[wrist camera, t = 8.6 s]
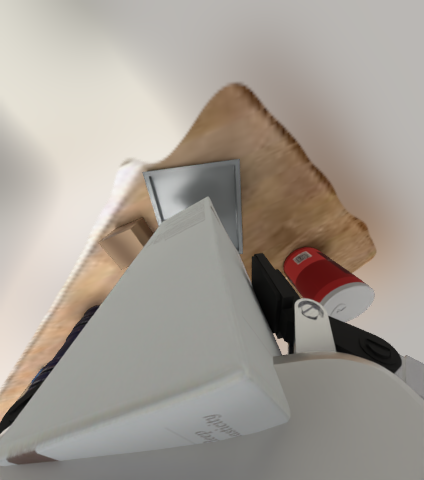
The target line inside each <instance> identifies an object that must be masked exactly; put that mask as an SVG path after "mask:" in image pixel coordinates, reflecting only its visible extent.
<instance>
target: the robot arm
mask: <svg viewBox="0 0 424 480" xmlns="http://www.w3.org/2000/svg"><path fill="white" fill-rule="evenodd" d="M252 288H253V290H254V292H255V295H256V297H257V299H258V301H259V304H260V306H261V308H262V311H263V313H264V315H265V317H266V320H267V322H268V324H269V326H270V329H271V331H272V333H275V334H276V336H277V338H278V339H280V338H283V339H284V341H286V342H287V343H288V355H281V356H274V357H273V365H274V368H275V370H276V373H277V376H278V378H279V381H280V384H281V386H282V389H283V392H284V394H285V397H286V400H287V402H288V405H289V408H290V419H289V421H288V422H286V423H284V424H281V425H278V426H275V427H272V428H269V429H266V430H263V431H260V432H257V433H252V434H247V435H243V436H238V437H234V438H229V439H225V440H220V441H216V442H209V443H202V444H194V445H187V446H180V447H173V448H166V449H159V450H151V451H143V452H134V453H125V454H116V455H107V456H98V457H90V458H81V459H72V460H63V461H52V462H41V463H30V464H20V465H10V466H0V480H424V364H423V363H421V362H419V361H417V360H415V359H413V358H411V357H409V356H407V355H406V356H405V357H403V356H401V355H399V354H398V352H397V351H396V350H395V349H394V348H393V347H392V346H391V345H390V344H389V343H387V342H386V341H385V340H383V339H381V338H379V337H378V336H376V335H373V334H371V333H369V332H366V331H364V330H361V329H359V328H357V327H354V326H352V325H350V324H347V323H345V322H343V321H340V320H338V319H335V318H333V317H331V316H328V314H327V311H326V309H325V308H324V307H323V306H322V305H321V304H320V303H318V302H316V301H314V300H311V299H306V298H303V299H301V298H300V297H299V295H298V294H297V293H296V292H295V290H294V289H293V288H292V286H291V285H290V284H289V282H288V281H287V280H286V279H285V277H284V276H283V275H282V273H281V272H280V271H279V270H278V269H276V270H275V269H274V268H273V266H272V265H271V264H270V262H269V261H268V260H267V258H266V257H265V255H264V254H263V253H259V254H255V255H254V256H253V257H252ZM44 381H45V379H44V380H43V381H42V382H40V383H39V384H38V385H36V386H35V387H34V388H32V389H31V390H30V391H28V392H27V393H26V394H24V395H23V396H22V397H21V398H20V399H19V400H17V401H16V402H15V404H14V405H13V406H12V407H11V408H10V409H9V410H8V412H7V413H6V414H5V416H4V417H3V419H2V421H1V422H0V440H1V438H2V437H3V435H4V434H5V433H6V431H7V430H8V429H9V427H10V426H11V425H12V423H13V422H14V421H15V419H16V418H17V417H18V415H19V414H20V413H21V411H22V410H23V409H24V407H25V406H26V405H27V403H28V402H29V401H30V399H31V398H32V397H33V395H34V394H35V393H36V391H37V390H38V389H39V387H40V386H41V385H42V383H43V382H44Z"/></svg>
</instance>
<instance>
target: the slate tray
mask: <svg viewBox="0 0 424 480" xmlns="http://www.w3.org/2000/svg"><path fill="white" fill-rule="evenodd" d="M142 173H143V176H144V179H145V182H146V186H147V189H148V192H149V196H150V199H151V202H152V206H153V209H154V212H155V216H156V219H157V222H158V225H159V226H160V224H161V223H162V222H163V221H165V220H167V219H169V218H170V217H172V216H174V215H176V214H177V213H179V212H181V211H183V210H185V209H186V208H188V207H190V206H192V205H193V204H195V203H197V202H199V201H200V200H202V199H204V198H206V197H209V198H210V200H211V202H212V204H213V207H214V209H215V211H216V213H217V215H218V217H219V219H220V221H221V223H222V225H223V227H224V229H225V231H226V233H227V234H228V236H229V238H230V240H231V241H232V243H233V245H234V247H235V248H236V249H237V251H238V253H239V254H243V245H242V215H241V186H240V159H235V160H228V161H221V162H213V163H206V164H199V165H191V166H184V167H177V168H170V169H162V170H155V171H148V172H142Z"/></svg>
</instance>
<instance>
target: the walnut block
mask: <svg viewBox="0 0 424 480" xmlns="http://www.w3.org/2000/svg"><path fill="white" fill-rule="evenodd" d="M152 235H153V233H152V231H151V230H150V228H149V227H148V225H147V224H146V222H145V221H144V219H143V217H142V218H140V219H137V220H135V221H133V222H130V223H128V224H126V225H123V226H121V227H119V228H116V229H115V230H114V231H112V232H111V233H110V234H108V235H107V236H106V237H105V238H103V239H102V240H101V241H100V242H98V243H99V244H100V245H101V247H102V248H103V249H104V250H105V251H106V252H107V254H108V255H109V256H110V257H111V258H112V259H113V260H114V262H115V263H116V264H117V265H118V266H119V267H120V269H121V270H122V269H124V268H127V267H129V266H130V265H131V263H132V262H133V261H134V259H135V258H136V257H137V255H138V254H139V253H140V251H141V250H142V249H143V247H144V246H145V245H146V243H147V242H148V241H149V239H150V238H151V237H152Z"/></svg>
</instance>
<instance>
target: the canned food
mask: <svg viewBox="0 0 424 480" xmlns="http://www.w3.org/2000/svg"><path fill="white" fill-rule="evenodd" d="M284 272H285V274H286V276H287V277H288V279H289V280H290V281H291V283H292V284H293V285H294V286H295V288H296V289H297V290H298V291H299V293H300V294H301V295H302V296H303V298H306V299H311V300H314V301H316V302H318V303H320V304H321V305H322V306H323V307H324V308H325V309H326V311H327V314H328V316H331V317H333V318H335V319H338V320H340V321H343V322H347V321H349V320H352V319H354V318H356V317H357V316H359V315H360V314H362V313H363V312H364V311H365V310H367V308H368V307H369V306H370V305H371V303H372V302H373V299H374V295H375V294H374V291H373V289H372V288H370V287H369V286H368V285H367V284H366V283H364V282H363V281H362V280H360V279H359V278H357V277H356V276H355V275H353V274H352V273H350V272H349V271H347V270H346V269H345V268H343V267H342V266H340V265H339V264H337V263H336V262H334V261H333V260H332V259H330V258H329V257H327V256H326V255H324V254H323V253H322V252H320V251H319V250H317V249H315V248H311V247H303V248H300V249H297V250H295V251H294V252H292V253H291V254H290V255H289V256H288V257H287V259H286V260H285V262H284Z"/></svg>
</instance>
